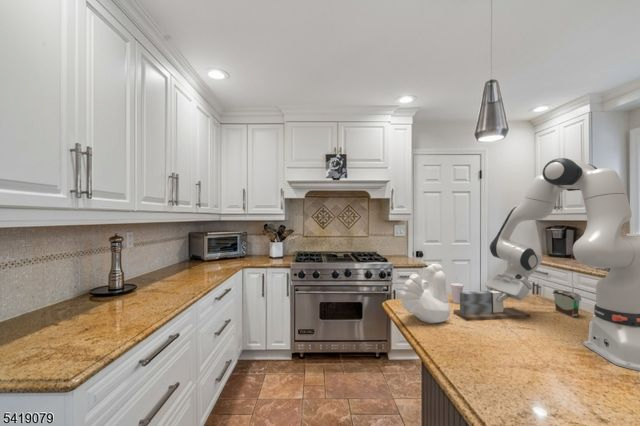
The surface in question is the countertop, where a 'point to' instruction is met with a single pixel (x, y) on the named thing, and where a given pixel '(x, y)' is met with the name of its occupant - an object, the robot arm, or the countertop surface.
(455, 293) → the smoothie
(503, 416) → the countertop surface
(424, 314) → the decorative rooster
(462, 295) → the stand
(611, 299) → the robot arm
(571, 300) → the food container
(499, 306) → the white cylinder
